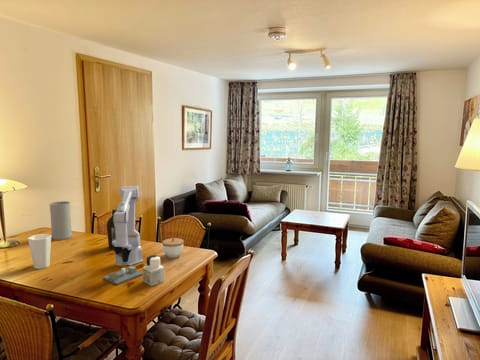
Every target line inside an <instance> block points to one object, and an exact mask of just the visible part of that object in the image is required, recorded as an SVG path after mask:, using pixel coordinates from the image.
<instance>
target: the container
mask: <svg viewBox="0 0 480 360" xmlns="http://www.w3.org/2000/svg"><path fill="white" fill-rule="evenodd" d="M142 273H143V275H142V276H143V277H142V278H143V280H142V281H143V282H144V283H146V284H147V285H149V286H151V287H152V286H153V287H154V286H155V285H159V284H161V283H164V282H165V280H166V278H165V266H163V265H161V256H159V255H157V254H155V255H149V256H147V257H146V265H144V266H143V267H142Z"/></svg>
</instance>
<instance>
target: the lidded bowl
mask: <svg viewBox="0 0 480 360" xmlns="http://www.w3.org/2000/svg"><path fill="white" fill-rule="evenodd" d="M161 243H162V249H163V253H164V254H165V256H166V257H168V258H170V259H173V258H174V259H175V258H178V257H179V256H180V255H181V254H182V253H183V251H184V243H185V241H184V239H182V238H177V237H171V238H167V239H163V240H162V242H161Z"/></svg>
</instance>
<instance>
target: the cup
mask: <svg viewBox="0 0 480 360" xmlns="http://www.w3.org/2000/svg"><path fill="white" fill-rule="evenodd" d="M27 241H28V247H29V250H30V254H31V255H30V256H31V260H32V263H33V268H34V269H37V270H39V269H40V270H41V269H45V268H46V269H47V268H48V267H50V265H51V263H50V261H51V245H52V234H49V233H41V234H34V235H32V236H30V237H29V236H28V237H27Z"/></svg>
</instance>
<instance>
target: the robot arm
mask: <svg viewBox="0 0 480 360" xmlns="http://www.w3.org/2000/svg"><path fill="white" fill-rule="evenodd" d="M119 195H120V197H121V201H120V202H119V203H118V205H117V211H116V213H114V215H113V221H114V227H115V233H116V240H114V241H112V245H114V247H112V248H113V249H112V250H113V252H114V254H115V255H116V254H119V253H122V256H123V262H127V261H128V258H129V264H126V266H127V265H128V266H133V265H135V264H138V263H141V262H143V261H144V259H143V248H142V246H141V234H140V232H138V230H136V203H137V202H138V201H140V187H139V185H127V186H126V185H121V186H120V188H119Z"/></svg>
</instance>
